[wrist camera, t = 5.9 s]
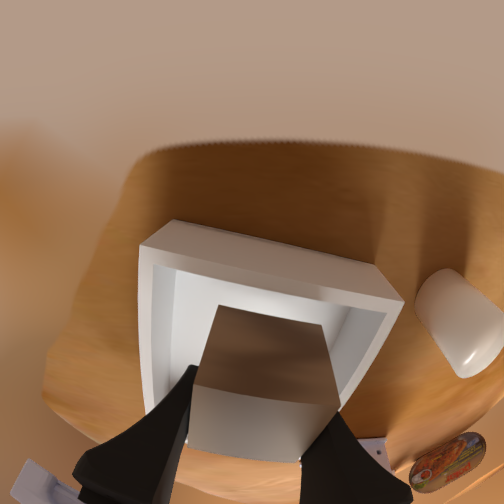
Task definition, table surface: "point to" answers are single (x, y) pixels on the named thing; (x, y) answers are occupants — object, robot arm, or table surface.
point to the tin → (447, 462)
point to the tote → (253, 300)
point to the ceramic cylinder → (460, 321)
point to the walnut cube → (261, 387)
